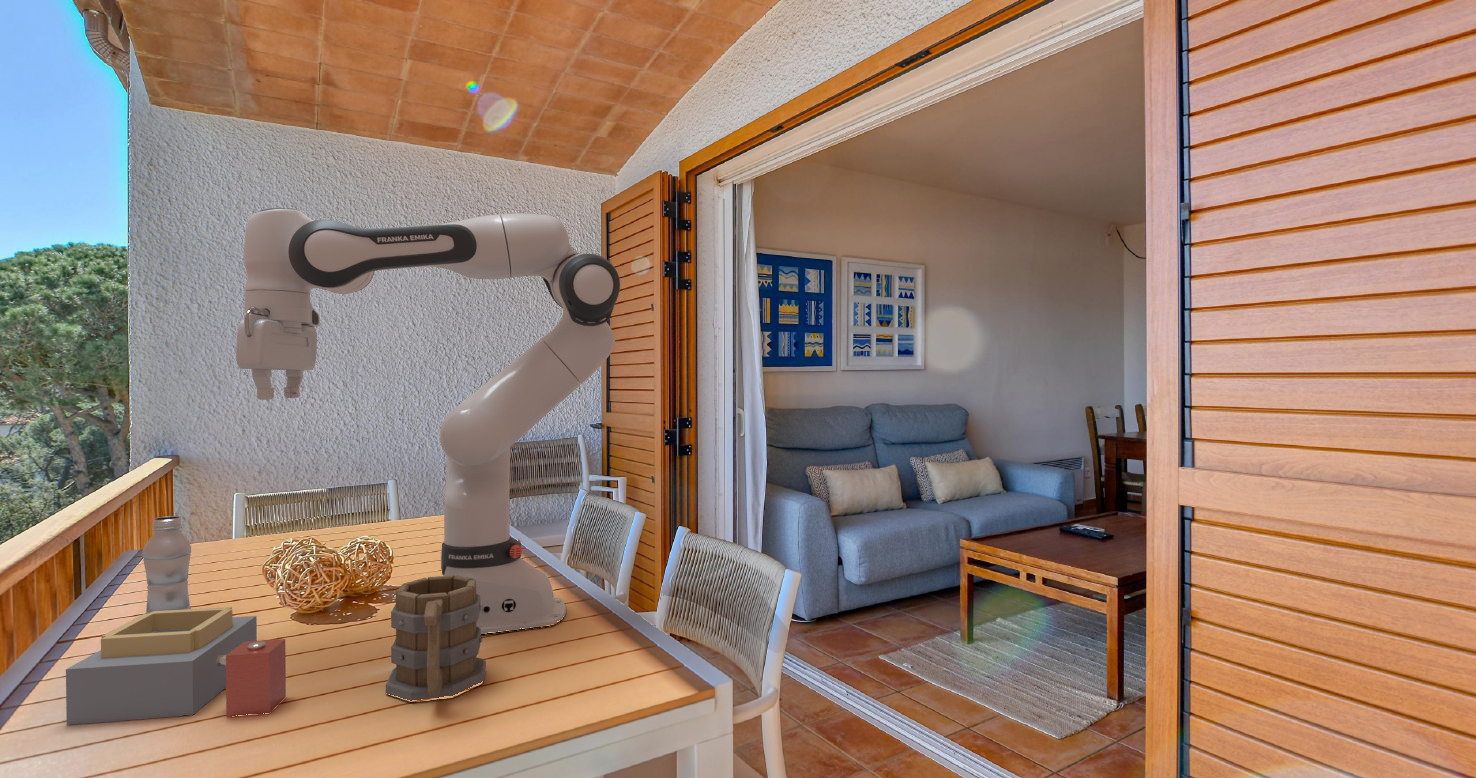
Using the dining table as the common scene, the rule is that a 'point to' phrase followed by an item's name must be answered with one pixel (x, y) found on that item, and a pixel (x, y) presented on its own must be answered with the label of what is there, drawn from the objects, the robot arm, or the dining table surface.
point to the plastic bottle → (167, 566)
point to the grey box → (156, 666)
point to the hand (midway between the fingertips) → (279, 398)
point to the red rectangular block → (254, 677)
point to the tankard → (436, 638)
